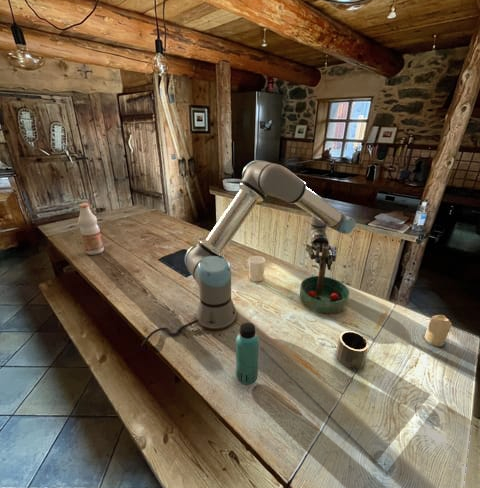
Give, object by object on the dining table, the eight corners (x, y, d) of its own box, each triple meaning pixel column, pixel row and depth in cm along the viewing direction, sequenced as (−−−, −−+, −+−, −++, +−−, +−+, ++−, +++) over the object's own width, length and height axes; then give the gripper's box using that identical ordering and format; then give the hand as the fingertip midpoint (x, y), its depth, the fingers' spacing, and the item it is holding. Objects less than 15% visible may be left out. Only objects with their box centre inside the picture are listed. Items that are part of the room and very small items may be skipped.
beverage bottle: (256, 369, 81) (258, 317, 72) (259, 390, 74) (261, 335, 66) (235, 370, 80) (235, 318, 72) (235, 390, 74) (235, 336, 66)
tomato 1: (312, 300, 111) (313, 294, 110) (306, 297, 113) (307, 291, 112) (316, 298, 112) (317, 292, 111) (311, 294, 115) (312, 288, 113)
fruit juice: (82, 253, 151) (69, 205, 140) (96, 246, 159) (85, 201, 148) (94, 256, 148) (82, 207, 137) (107, 249, 156) (97, 203, 144)
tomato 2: (334, 302, 109) (335, 296, 108) (328, 299, 112) (329, 293, 110) (339, 300, 111) (340, 294, 110) (333, 296, 113) (334, 290, 112)
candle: (425, 332, 95) (433, 309, 91) (444, 339, 92) (453, 316, 88) (423, 341, 91) (431, 318, 87) (442, 349, 88) (452, 325, 84)
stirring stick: (319, 296, 112) (326, 249, 103) (314, 293, 114) (321, 246, 105) (323, 294, 113) (330, 247, 104) (318, 291, 115) (325, 245, 106)
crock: (353, 375, 79) (358, 355, 76) (330, 357, 85) (334, 338, 82) (368, 362, 83) (374, 342, 80) (346, 345, 89) (350, 327, 86)
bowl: (326, 322, 100) (329, 309, 98) (289, 296, 114) (291, 285, 112) (356, 303, 110) (359, 291, 108) (319, 282, 125) (320, 271, 122)
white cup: (263, 283, 124) (264, 264, 120) (246, 281, 125) (247, 262, 121) (265, 274, 131) (266, 256, 127) (249, 272, 133) (249, 255, 128)
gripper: (335, 250, 123) (345, 276, 102) (301, 247, 126) (304, 273, 104) (337, 235, 120) (348, 259, 99) (303, 233, 122) (306, 256, 101)
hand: (325, 266), depth 102 cm, fingers closed on stirring stick, 2 cm apart
